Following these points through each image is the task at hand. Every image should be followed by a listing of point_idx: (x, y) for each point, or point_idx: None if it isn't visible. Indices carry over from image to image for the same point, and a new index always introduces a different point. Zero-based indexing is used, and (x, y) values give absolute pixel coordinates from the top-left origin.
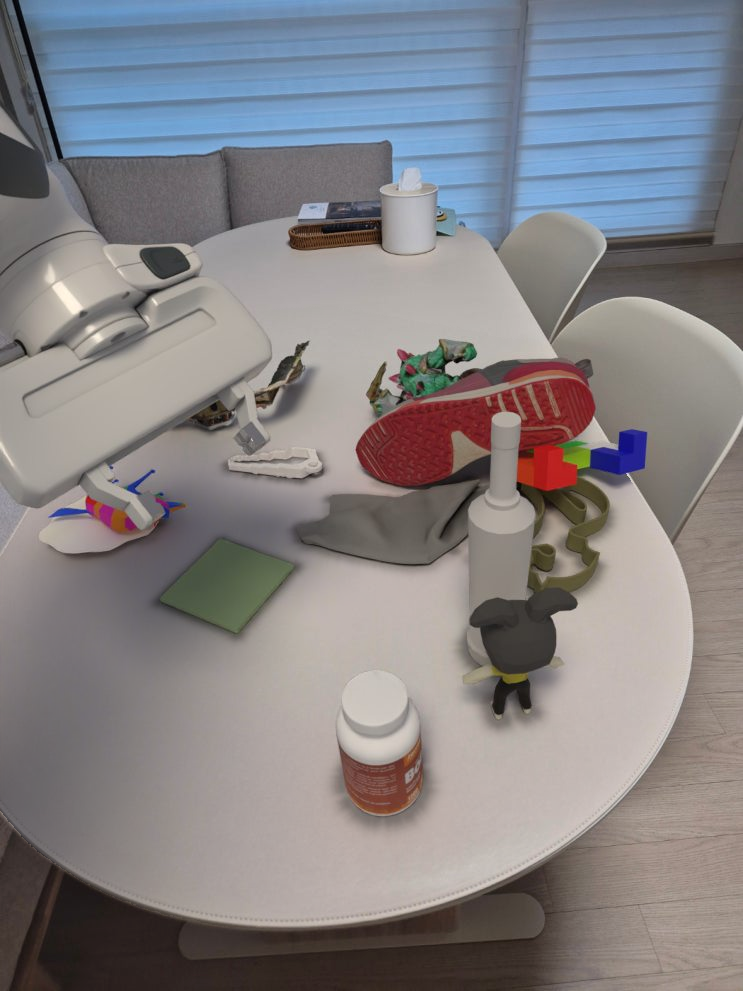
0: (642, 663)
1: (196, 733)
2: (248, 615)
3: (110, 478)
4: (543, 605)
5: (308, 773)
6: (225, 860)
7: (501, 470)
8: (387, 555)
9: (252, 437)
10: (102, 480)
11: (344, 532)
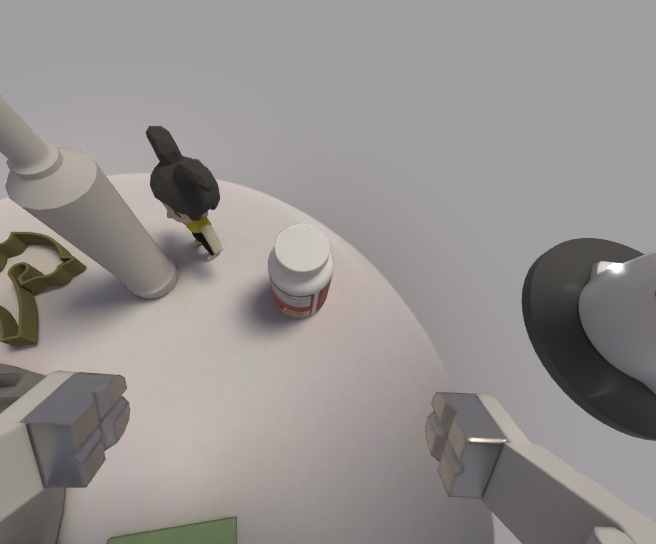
0: (132, 192)
1: (348, 451)
2: (210, 523)
3: (612, 529)
4: (171, 140)
5: (323, 341)
6: (401, 350)
7: (9, 109)
8: None
9: (91, 391)
10: (649, 540)
11: (25, 511)
